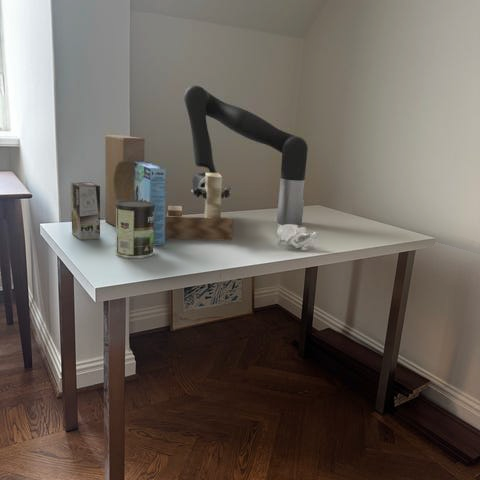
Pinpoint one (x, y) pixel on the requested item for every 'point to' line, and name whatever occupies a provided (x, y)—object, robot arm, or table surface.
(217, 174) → the light wooden block
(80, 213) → the coffee box
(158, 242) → the light blue carton
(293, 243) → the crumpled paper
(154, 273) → the table surface
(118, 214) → the coffee can
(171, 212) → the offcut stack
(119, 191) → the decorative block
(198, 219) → the brown wooden block
